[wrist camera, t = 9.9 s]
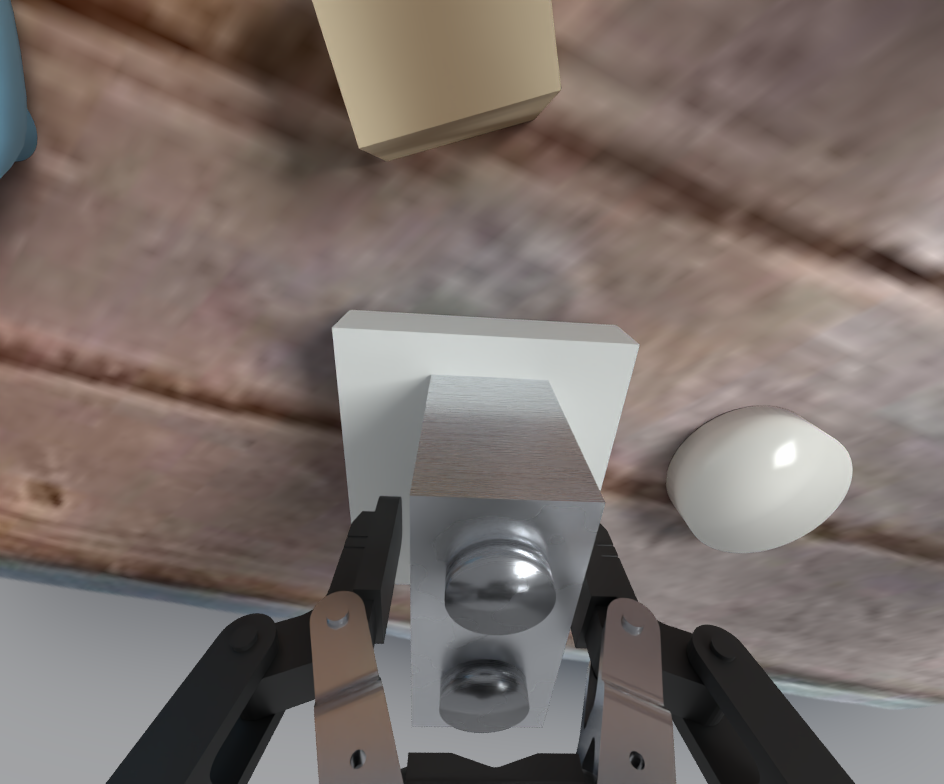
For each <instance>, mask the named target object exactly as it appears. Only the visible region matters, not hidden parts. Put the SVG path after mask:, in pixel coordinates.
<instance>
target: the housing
mask: <svg viewBox="0 0 944 784" xmlns="http://www.w3.org/2000/svg"><path fill="white" fill-rule="evenodd" d="M409 498H410V600H411V694H412V695H411V699H412V726H413V727H414V726H415V727H416V726H418V727H423V726H424V727H454V728H456V729H459V730H463V731H467V732H474V733H489V732H496V731H501V730H505V729H508V728H511V727H536V728H538V727H539V728H540V727H541V728H542V727H543V724H544V720H545V717H546V713H547V710H548V706H549V703H550V699H551V695H552V692H553V688H554V684H555V681H556V677H557V674H558V670H559V667H560V663H561V660H562V656H563V652H564V649H565V645H566V642H567V638H568V635H569V631H570V627H571V624H572V620H573V617H574V613H575V610H576V606H577V602H578V599H579V595H580V592H581V588H582V585H583V581H584V577H585V574H586V570H587V567H588V563H589V560H590V556H591V552H592V549H593V545H594V542H595V538H596V535H597V531H598V527H599V524H600V520H601V517H602V513H603V510H604V506H605V501H604V499H603V496H602V494H601V492H600V490H599V488H598V486H597V484H596V481H595V479H594V477H593V475H592V473H591V471H590V469H589V466H588V464H587V462H586V460H585V458H584V456H583V453H582V451H581V449H580V447H579V445H578V443H577V441H576V438H575V436H574V434H573V432H572V430H571V428H570V426H569V423H568V421H567V419H566V417H565V415H564V413H563V411H562V408H561V406H560V404H559V402H558V400H557V398H556V396H555V393H554V391H553V389H552V387H551V385H550V383H549V381H548V380H533V379H513V378H493V377H473V376H453V375H433V374H431V379H430V385H429V390H428V396H427V401H426V407H425V412H424V418H423V423H422V429H421V435H420V440H419V446H418V451H417V457H416V462H415V468H414V473H413V479H412V485H411V490H410V496H409Z"/></svg>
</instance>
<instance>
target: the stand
mask: <svg viewBox="0 0 944 784" xmlns="http://www.w3.org/2000/svg"><path fill="white" fill-rule="evenodd" d="M332 333H333V343H334V354H335V364H336V374H337V384H338V394H339V404H340V415H341V425H342V435H343V445H344V455H345V465H346V475H347V486H348V496H349V506H350V516H351V524H352V522H353V521H354V520H355V519H356V518H357V516H358V515H359V514H360V513H361V512H362V511H375V509H376V506H377V502H378V499H379V496H398V497H401V498H402V543H401V550H400V556H399V561H398V567H397V572H396V578H395V584H408V585H410V498H409V496H410V490H411V485H412V479H413V473H414V468H415V462H416V457H417V451H418V446H419V440H420V435H421V429H422V423H423V418H424V412H425V407H426V401H427V396H428V390H429V385H430V379H431V374H433V375H453V376H473V377H493V378H513V379H533V380H548V381H549V383H550V385H551V387H552V389H553V391H554V393H555V396H556V398H557V400H558V402H559V404H560V406H561V408H562V411H563V413H564V415H565V417H566V419H567V421H568V423H569V426H570V428H571V430H572V432H573V434H574V436H575V438H576V441H577V443H578V445H579V447H580V449H581V451H582V453H583V456H584V458H585V460H586V462H587V464H588V466H589V469H590V471H591V473H592V475H593V477H594V479H595V481H596V484H597V486H598V488H599V490H600V491H601V487H602V483H603V480H604V476H605V472H606V468H607V465H608V461H609V457H610V454H611V450H612V446H613V442H614V439H615V435H616V431H617V427H618V424H619V420H620V416H621V413H622V409H623V405H624V401H625V398H626V394H627V390H628V387H629V383H630V379H631V375H632V372H633V368H634V364H635V360H636V357H637V353H638V349H639V346H640V344H639V343H637V342H636V341H635V340H634V339H633V338H631V337H630V336H629V335H628V334H627V333H625V332H624V331H623V330H622V329H621V328H619V327H618V326H617V325H607V324H590V323H572V322H555V321H537V320H520V319H503V318H485V317H468V316H450V315H433V314H415V313H398V312H380V311H363V310H349V311H348V312H347V313H346V314H345V315H344V316H343V317H342V318H341V319H340V320H339V321H338V322H337V323H336V324H335V325H334V326H333V327H332Z"/></svg>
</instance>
